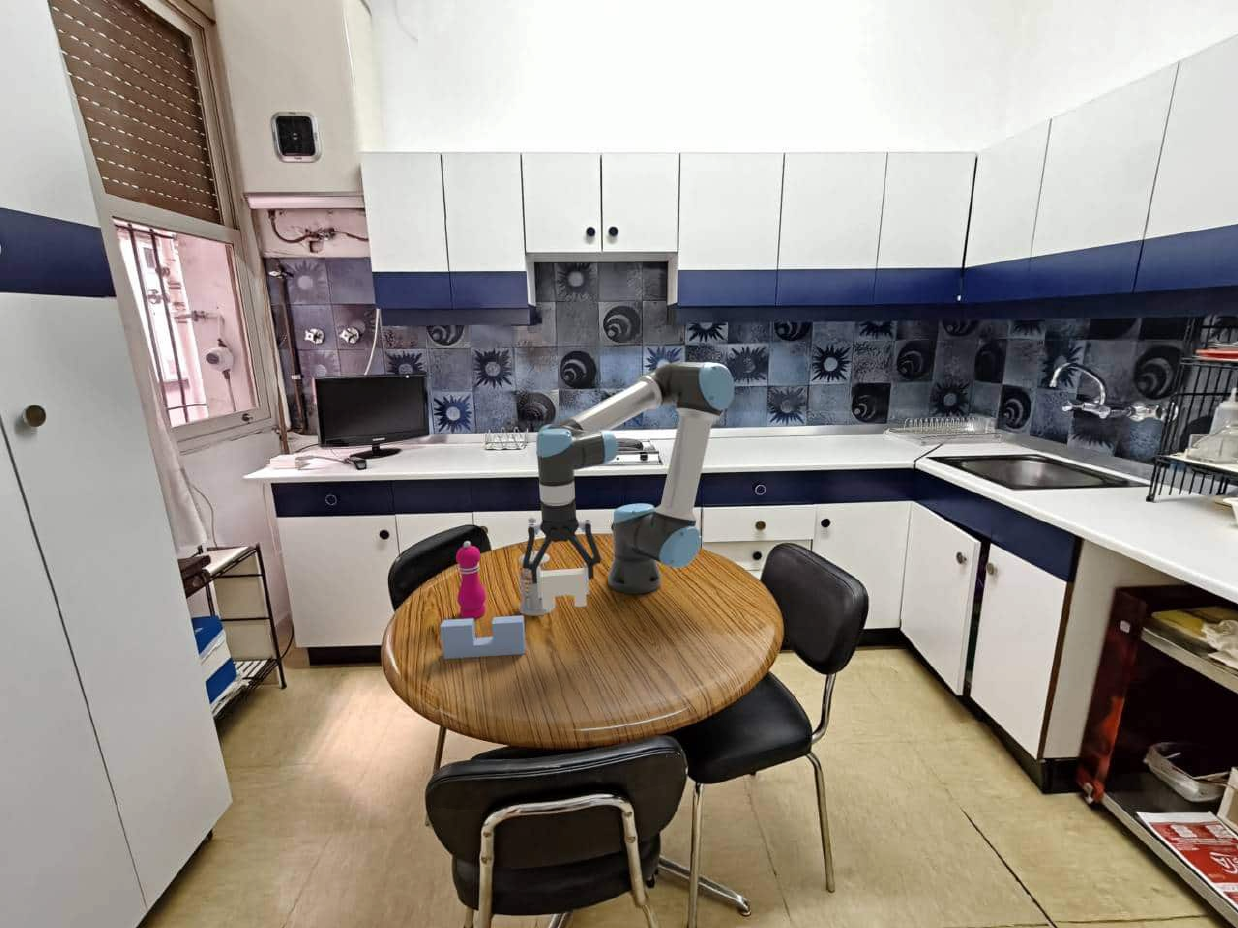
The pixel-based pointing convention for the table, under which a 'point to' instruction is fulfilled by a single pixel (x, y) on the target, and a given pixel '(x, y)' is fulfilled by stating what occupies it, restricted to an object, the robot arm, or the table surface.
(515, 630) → the blue batten
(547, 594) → the white notched block
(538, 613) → the french press
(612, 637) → the table surface
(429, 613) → the table surface
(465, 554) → the pepper mill
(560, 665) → the table surface
